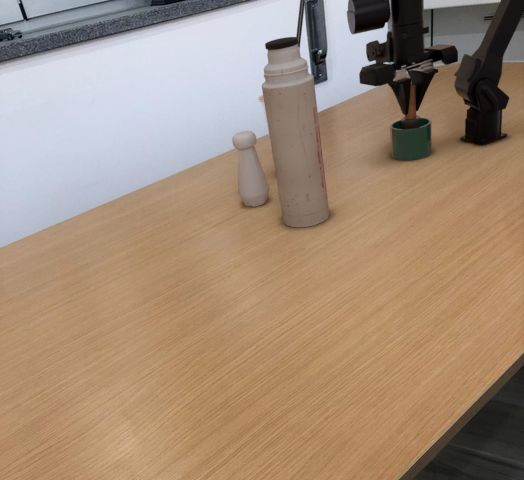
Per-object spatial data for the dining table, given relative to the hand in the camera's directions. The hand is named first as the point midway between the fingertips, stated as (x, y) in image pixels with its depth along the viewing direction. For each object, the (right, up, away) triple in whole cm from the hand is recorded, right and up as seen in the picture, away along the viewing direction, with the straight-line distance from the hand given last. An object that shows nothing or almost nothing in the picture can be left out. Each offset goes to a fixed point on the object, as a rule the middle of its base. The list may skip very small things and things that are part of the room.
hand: (410, 112), depth 116 cm
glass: (-22, -9, +8) cm, 25 cm away
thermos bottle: (-21, -23, -13) cm, 34 cm away
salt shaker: (-30, -18, -3) cm, 35 cm away
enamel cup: (+1, -7, +5) cm, 8 cm away
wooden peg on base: (+1, -4, +3) cm, 5 cm away
